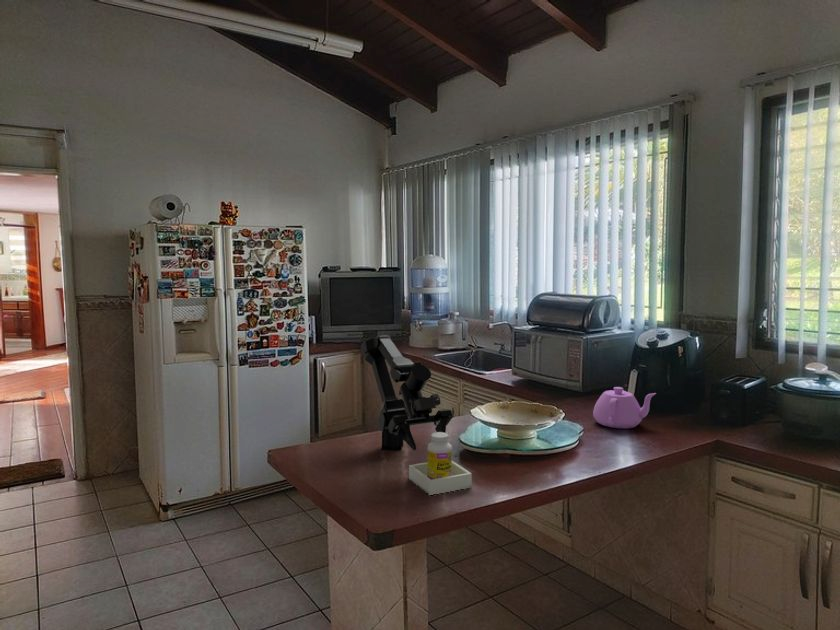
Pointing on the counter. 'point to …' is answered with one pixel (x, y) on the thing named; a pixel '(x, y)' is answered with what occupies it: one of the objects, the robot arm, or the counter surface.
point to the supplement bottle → (439, 456)
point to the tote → (440, 479)
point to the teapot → (620, 409)
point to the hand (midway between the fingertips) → (430, 447)
